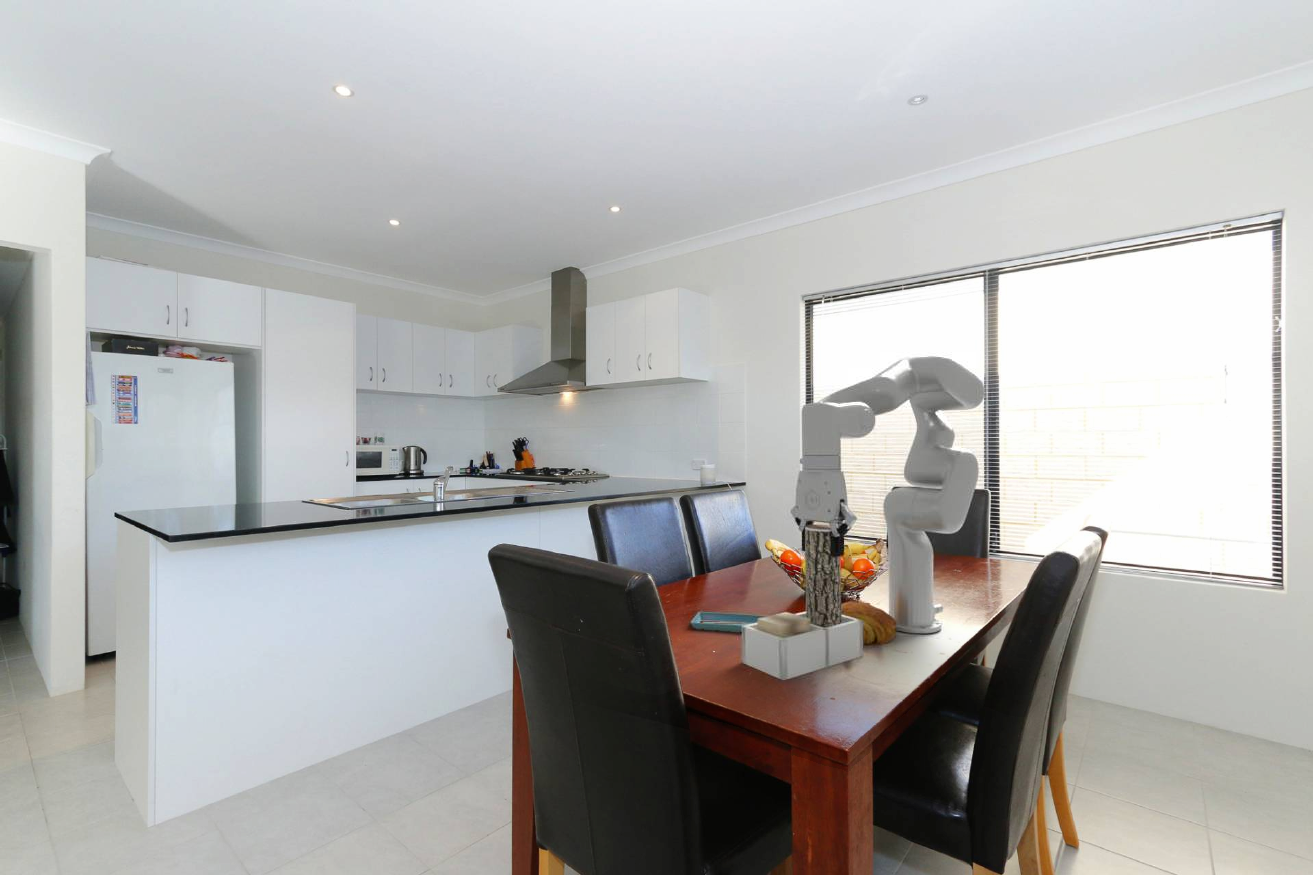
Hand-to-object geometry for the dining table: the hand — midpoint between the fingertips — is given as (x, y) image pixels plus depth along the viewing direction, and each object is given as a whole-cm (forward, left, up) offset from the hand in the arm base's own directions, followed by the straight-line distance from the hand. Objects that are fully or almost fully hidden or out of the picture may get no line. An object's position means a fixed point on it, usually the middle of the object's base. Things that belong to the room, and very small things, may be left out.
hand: (822, 552), depth 126 cm
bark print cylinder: (0, 0, -20) cm, 20 cm away
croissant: (-16, -3, -21) cm, 26 cm away
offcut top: (+11, 0, -14) cm, 18 cm away
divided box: (+6, 0, -20) cm, 21 cm away
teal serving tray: (0, -21, -21) cm, 30 cm away
